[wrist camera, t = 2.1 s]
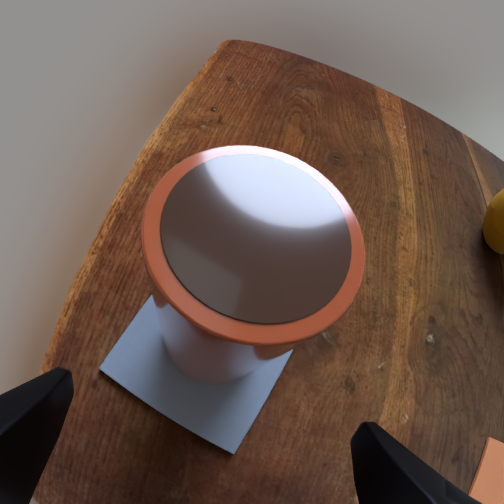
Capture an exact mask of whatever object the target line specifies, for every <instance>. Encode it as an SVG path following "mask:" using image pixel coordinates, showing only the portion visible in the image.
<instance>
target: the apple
mask: <svg viewBox="0 0 504 504" xmlns="http://www.w3.org/2000/svg"><path fill="white" fill-rule="evenodd" d="M483 234H484V238H485V241H486V243H487V244H488V246H489V247H490V248H491V249H492V250H493V251H495V252H497V253H499V254H503V255H504V189H502V190H501V191H500V192H499V193H498V194H496V195H495V196H494V198H493V199H492V200H491V202H490V204H489V206H488V208H487V211H486V215H485V218H484V223H483Z"/></svg>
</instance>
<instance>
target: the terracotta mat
mask: <svg viewBox="0 0 504 504" xmlns="http://www.w3.org/2000/svg"><path fill="white" fill-rule="evenodd" d="M467 495H469V496H471V497H472V498H474V499H476V500H477V501H479V502H481V503H482V504H504V443H501V442H499V441H497V440H495V439H492V438H487V441H486V444H485V447H484V451H483V454H482V457H481V460H480V463H479V466H478V468H477V471H476V474H475V477H474V479H473V482H472V485H471V487H470V490H469V492H468V494H467Z"/></svg>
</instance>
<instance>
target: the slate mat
mask: <svg viewBox="0 0 504 504" xmlns="http://www.w3.org/2000/svg"><path fill="white" fill-rule="evenodd" d="M292 351H293V349H292V350H291V351H289V352H287V353H285V354H284V355H282V356H280V357H278V358H276V359H275V360H273V361H271V362H269V363H267V364H265V365H264V366H262V367H260V368H258V369H256V370H254V371H252V372H250V373H248V374H246V375H245V376H243V377H241V378H239V379H237V380H235V381H232V382H230V383H226V384H221V385H207V384H202V383H199V382H196V381H193V380H192V379H190V378H188V377H186V376H185V375H184V374H182V373H181V372H180V371H179V370H178V369H177V368H176V366H175V365H174V364H173V362H172V361H171V359H170V357H169V355H168V352H167V349H166V345H165V342H164V338H163V335H162V331H161V327H160V323H159V320H158V316H157V312H156V308H155V304H154V300H153V296H152V295H151V296H150V298H149V299H148V300H147V302H146V303H145V304H144V306H143V307H142V308H141V310H140V311H139V312H138V314H137V315H136V317H135V318H134V319H133V321H132V322H131V323H130V325H129V326H128V328H127V329H126V330H125V332H124V333H123V335H122V336H121V337H120V339H119V340H118V342H117V343H116V344H115V346H114V347H113V349H112V350H111V351H110V353H109V354H108V356H107V357H106V359H105V360H104V361H103V363H102V364H101V366H100V367H99V369H100V370H102V371H103V372H104V373H105V374H107V375H108V376H109V377H111V378H112V379H113V380H115V381H116V382H117V383H119V384H120V385H121V386H123V387H124V388H125V389H127V390H128V391H130V392H131V393H132V394H134V395H135V396H137V397H138V398H140V399H141V400H142V401H144V402H145V403H147V404H148V405H150V406H151V407H153V408H154V409H156V410H157V411H159V412H160V413H162V414H164V415H165V416H167V417H168V418H170V419H172V420H173V421H175V422H176V423H178V424H180V425H181V426H183V427H185V428H186V429H188V430H190V431H191V432H193V433H195V434H197V435H198V436H200V437H202V438H204V439H206V440H207V441H209V442H211V443H213V444H215V445H217V446H219V447H220V448H222V449H224V450H226V451H228V452H230V453H232V454H234V453H235V452H236V450H237V449H238V447H239V445H240V444H241V442H242V440H243V439H244V437H245V435H246V434H247V432H248V430H249V429H250V427H251V425H252V423H253V422H254V420H255V418H256V417H257V415H258V413H259V411H260V410H261V408H262V406H263V404H264V403H265V401H266V399H267V397H268V396H269V394H270V392H271V390H272V388H273V387H274V385H275V383H276V381H277V379H278V377H279V376H280V374H281V372H282V370H283V368H284V366H285V364H286V362H287V361H288V359H289V357H290V355H291V353H292Z"/></svg>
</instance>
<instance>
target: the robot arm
mask: <svg viewBox="0 0 504 504" xmlns="http://www.w3.org/2000/svg"><path fill="white" fill-rule="evenodd" d="M73 394H74V388H73V379H72V373H71V371H69V370H67V369H64V368H62V367H57V368H55V369H53V370H51V371H49V372H47V373H45V374H43V375H41V376H38V377H36V378H34V379H32V380H30V381H28V382H26V383H24V384H22V385H20V386H18V387H16V388H14V389H12V390H10V391H8V392H5V393H3V394H1V395H0V504H29V503H30V500H31V498H32V495H33V493H34V491H35V488H36V486H37V484H38V481H39V479H40V477H41V475H42V472H43V470H44V468H45V466H46V463H47V461H48V459H49V457H50V455H51V453H52V450H53V448H54V446H55V444H56V442H57V440H58V437H59V435H60V432H61V430H62V427H63V424H64V421H65V418H66V415H67V412H68V409H69V406H70V404H71V401H72V398H73ZM351 453H352V463H353V473H354V481H355V487H356V491H357V496H358V501H359V504H482V503H481V502H479V501H477V500H476V499H474V498H472V497H471V496H469V495H467V494H466V493H464V492H463V491H461V490H460V489H459V488H457V487H456V486H454V485H453V484H452V483H450V482H449V481H448V480H445V478H444V477H442V476H441V475H440V474H439V473H437V472H436V471H435V470H433V469H432V468H431V467H430V466H428V465H427V464H426V463H424V462H423V461H422V460H421V459H419V458H418V457H417V456H416V455H414V454H413V453H412V452H411V451H409V450H408V449H407V448H406V447H404V446H403V445H402V444H401V443H399V442H398V441H397V440H396V439H395V438H393V437H392V436H391V435H390V434H388V433H387V432H386V431H385V430H384V429H382V428H381V427H380V426H379V425H378V424H376V423H375V422H363V423H361V424H360V426H359V427H358V429H357V431H356V432H355V434H354V435H353V437H352V439H351Z"/></svg>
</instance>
